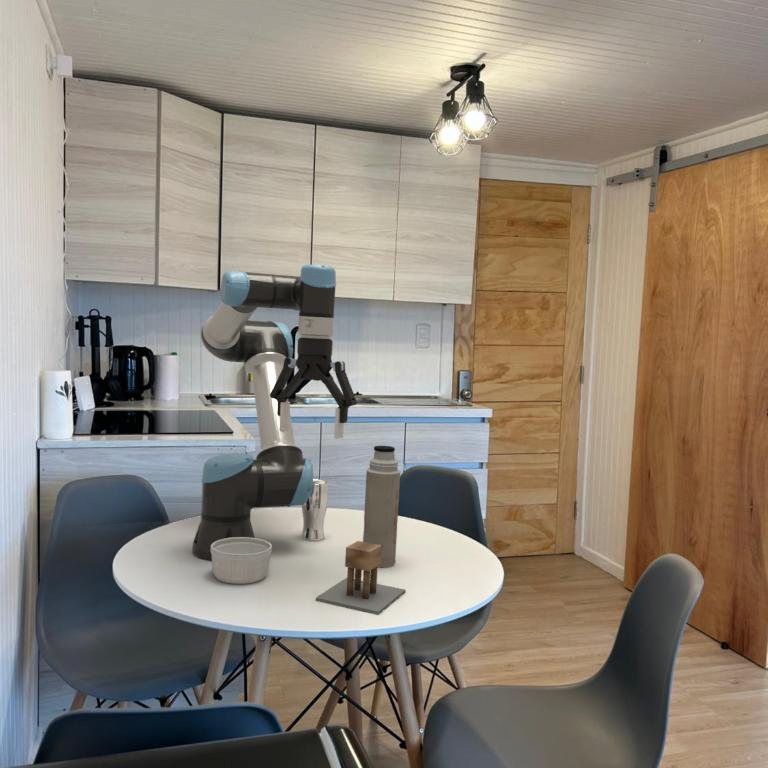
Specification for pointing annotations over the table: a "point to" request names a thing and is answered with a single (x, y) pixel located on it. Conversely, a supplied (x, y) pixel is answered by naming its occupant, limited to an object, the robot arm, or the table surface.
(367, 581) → the stool
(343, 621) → the table surface
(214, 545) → the ramekin
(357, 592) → the mat
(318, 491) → the silver cocktail shaker
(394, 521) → the thermos bottle
